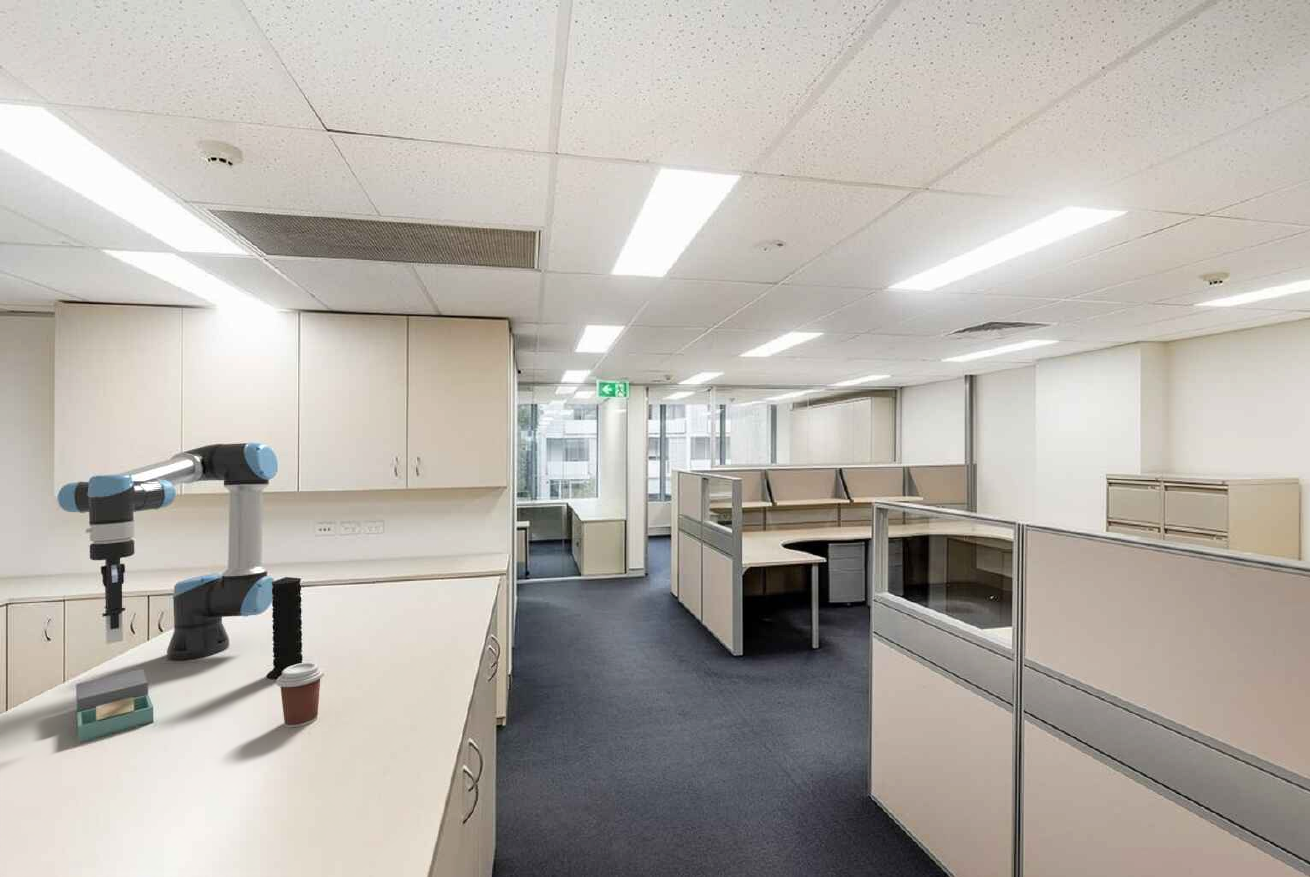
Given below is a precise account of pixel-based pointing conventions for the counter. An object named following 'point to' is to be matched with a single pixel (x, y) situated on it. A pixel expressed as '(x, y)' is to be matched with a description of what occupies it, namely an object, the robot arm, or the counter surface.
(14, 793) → the counter surface
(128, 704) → the tile
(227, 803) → the counter surface
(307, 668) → the coffee cup
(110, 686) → the gray rectangular block
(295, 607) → the black ridged tower
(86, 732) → the box
